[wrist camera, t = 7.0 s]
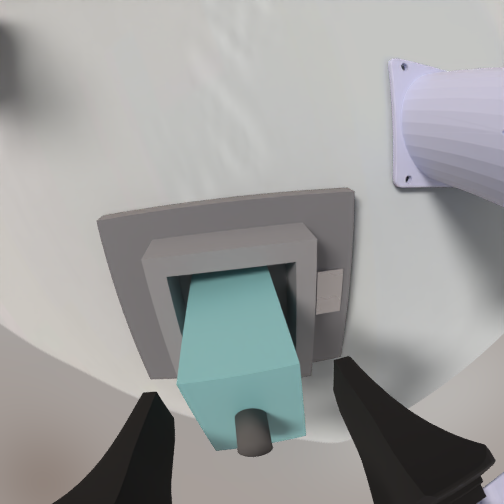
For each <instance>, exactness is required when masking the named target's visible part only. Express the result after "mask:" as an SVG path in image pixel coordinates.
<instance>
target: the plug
mask: <svg viewBox="0 0 504 504" xmlns="http://www.w3.org/2000/svg"><path fill="white" fill-rule="evenodd" d="M177 386H178V388H179V390H180V392H181V393H182V395H183V397H184V399H185V401H186V402H187V404H188V406H189V408H190V409H191V411H192V413H193V415H194V416H195V418H196V420H197V421H198V423H199V425H200V426H201V428H202V429H203V431H204V433H205V434H206V436H207V437H208V439H209V440H210V442H211V444H212V445H213V447H214V448H215V450H216V451H219V450H227V449H236V448H237V450H238V453H239V454H240V455H243V456H247V457H256V456H262V455H265V454H267V453H269V452H270V451H271V450H272V449H273V446H272V443H274V442H279V441H284V440H289V439H293V438H298V437H302V436H306V429H305V417H304V405H303V393H302V382H301V372H300V363H299V360H298V357H297V354H296V351H295V348H294V345H293V342H292V339H291V336H290V333H289V330H288V327H287V324H286V321H285V318H284V315H283V312H282V309H281V306H280V303H279V300H278V297H277V294H276V291H275V288H274V285H273V282H272V279H271V276H270V273H269V270H268V267H267V265H266V266H258V267H250V268H241V269H233V270H224V271H215V272H206V273H198V274H192V278H191V284H190V290H189V296H188V302H187V309H186V316H185V323H184V330H183V337H182V344H181V352H180V360H179V368H178V376H177Z"/></svg>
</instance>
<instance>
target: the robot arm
mask: <svg viewBox="0 0 504 504" xmlns="http://www.w3.org/2000/svg"><path fill="white" fill-rule="evenodd" d="M401 64H402V65H403V66H404V68H405V70H403V69H402V67H401ZM388 69H389V78H390V89H391V103H392V122H393V182H394V184H395V185H396V186H398V187H401V188H408V187H456V188H458V189H461V190H463V191H466V192H469V193H471V194H474V195H476V196H479V197H481V198H483V199H486V200H488V201H491V202H493V203H495V204H497V205H500V206H502V207H504V67H498V68H478V69H465V70H455V71H444V70H441V69H438V68H434V67H431V66H427V65H423V64H419V63H415V62H411V61H407V60H402V59H398V58H393V59H391V60H389V62H388ZM407 176H408V178H409V179H408V181H407V182H406V181H405V179H406V177H407ZM333 391H334V394H335V398H336V401H337V404H338V407H339V410H340V413H341V415H342V417H343V419H344V422H345V424H346V426H347V428H348V430H349V433H350V435H351V437H352V439H353V441H354V444H355V446H356V448H357V450H358V452H359V455H360V458H361V460H362V463H363V467H364V470H365V473H366V476H367V480H368V483H369V487H370V490H371V494H372V498H373V502H374V504H504V472H503V473H502V474H500V475H499V476H498V477H497V478H495V479H494V480H493V481H491V482H490V483H489V484H487V485H486V486H485V487H483V488H482V486H481V483H482V482H483V481H482V478H481V475H482V474H483V473H484V472H485V471H487V470H488V469H489V468H490V467H491V466H492V465H493V464H494V463H495V459H494V457H493V455H492V454H491V452H490V450H489V449H488V448H487V447H486V445H484V444H481V443H477V442H474V441H471V440H468V439H464V438H462V437H459V436H457V435H454V434H452V433H449V432H447V431H445V430H443V429H441V428H439V427H437V426H435V425H433V424H431V423H429V422H428V421H426V420H424V419H422V418H421V417H419V416H418V415H416V414H414V413H413V412H411V411H410V410H408V409H407V408H406V407H404V406H403V405H402V404H400V403H399V402H398V401H396V400H395V399H394V398H393V397H391V396H390V395H389V394H388V393H387V392H385V391H384V390H383V389H382V388H381V387H380V386H379V385H378V384H376V383H375V382H374V381H373V380H372V379H371V378H370V377H369V376H368V375H367V374H366V373H365V372H364V371H363V370H362V369H361V368H360V367H359V366H358V365H357V364H356V363H355V361H354V360H353V359H352V358H351V357H349V356H347V357H344V358H340V359H337V360H334V386H333ZM174 428H175V427H174V418H173V416H172V415H171V413H170V412H169V410H168V409H167V407H166V406H165V404H164V403H163V401H162V400H161V398H160V397H159V395H158V393H157V392H146V393H143V394H142V396H141V397H140V399H139V401H138V402H137V404H136V406H135V408H134V409H133V411H132V413H131V415H130V416H129V418H128V420H127V421H126V423H125V425H124V427H123V428H122V430H121V432H120V433H119V435H118V436H117V438H116V439H115V441H114V442H113V444H112V445H111V447H110V448H109V449H108V451H107V452H106V454H105V455H104V456H103V458H102V459H101V460H100V461H99V463H98V464H97V465H96V466H95V467H94V468H93V470H92V471H91V472H90V473H89V474H88V475H87V476H86V477H85V478H84V479H83V480H82V481H81V482H80V483H79V484H78V485H77V486H75V487H74V488H73V489H72V490H71V491H69V492H68V493H67V494H66V495H64V496H63V497H62V498H60V499H59V500H57V501H56V502H54V503H53V504H172V497H171V478H172V467H173V466H172V465H173V455H174V444H175V429H174Z"/></svg>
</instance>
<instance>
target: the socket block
mask: <svg viewBox="0 0 504 504" xmlns="http://www.w3.org/2000/svg"><path fill="white" fill-rule="evenodd" d="M354 192H355V191H353V190H351V189H349V188H332V189H317V190H303V191H290V192H278V193H267V194H257V195H247V196H237V197H228V198H219V199H211V200H203V201H195V202H187V203H180V204H173V205H166V206H159V207H152V208H146V209H139V210H133V211H127V212H121V213H115V214H109V215H104V216H102V217H101V218H99V219H98V220H97V225H98V229H99V233H100V237H101V241H102V245H103V248H104V252H105V256H106V259H107V263H108V266H109V270H110V273H111V276H112V280H113V283H114V286H115V289H116V292H117V295H118V298H119V301H120V304H121V307H122V310H123V313H124V315H125V318H126V321H127V324H128V326H129V329H130V331H131V334H132V337H133V339H134V342H135V344H136V347H137V349H138V352H139V354H140V356H141V359H142V361H143V363H144V366H145V368H146V370H147V373H148V375H149V377H150V379H174V378H177V376H178V368H179V360H180V352H181V344H182V337H183V330H184V323H185V316H186V309H187V302H188V296H189V290H190V284H191V278H192V274H198V273H206V272H215V271H224V270H233V269H241V268H250V267H258V266H266V265H267V267H268V270H269V273H270V276H271V279H272V282H273V285H274V288H275V291H276V294H277V297H278V300H279V303H280V306H281V309H282V312H283V315H284V318H285V321H286V324H287V327H288V330H289V333H290V336H291V339H292V342H293V345H294V348H295V351H296V354H297V357H298V360H299V363H300V372H301V377H305V376H311V372H312V362H317V361H322V360H327V359H332V358H336V357H341V351H342V345H343V338H344V330H345V322H346V314H347V305H348V296H349V286H350V275H351V262H352V247H353V227H354Z"/></svg>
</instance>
